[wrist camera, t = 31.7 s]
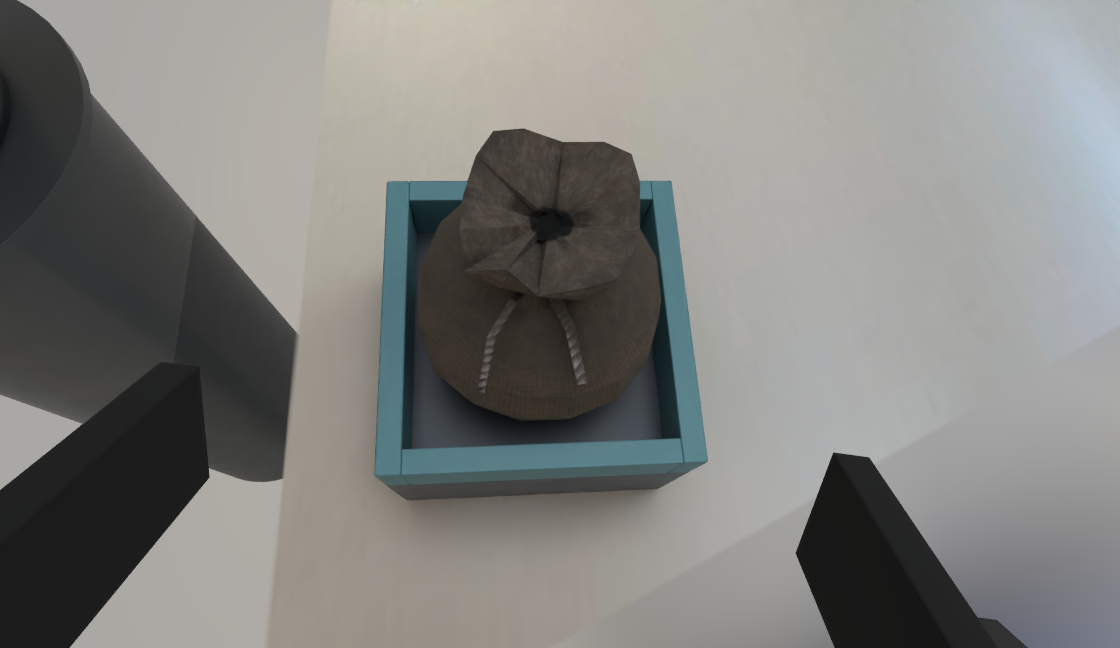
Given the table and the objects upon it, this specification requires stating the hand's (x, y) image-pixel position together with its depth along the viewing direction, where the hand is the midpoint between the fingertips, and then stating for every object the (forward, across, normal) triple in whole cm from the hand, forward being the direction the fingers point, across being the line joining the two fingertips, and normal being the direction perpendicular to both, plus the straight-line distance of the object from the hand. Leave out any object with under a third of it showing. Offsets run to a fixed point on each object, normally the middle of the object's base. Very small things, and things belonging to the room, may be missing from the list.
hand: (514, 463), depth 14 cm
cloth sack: (+16, 0, -5) cm, 17 cm away
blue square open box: (+20, 0, -9) cm, 22 cm away
